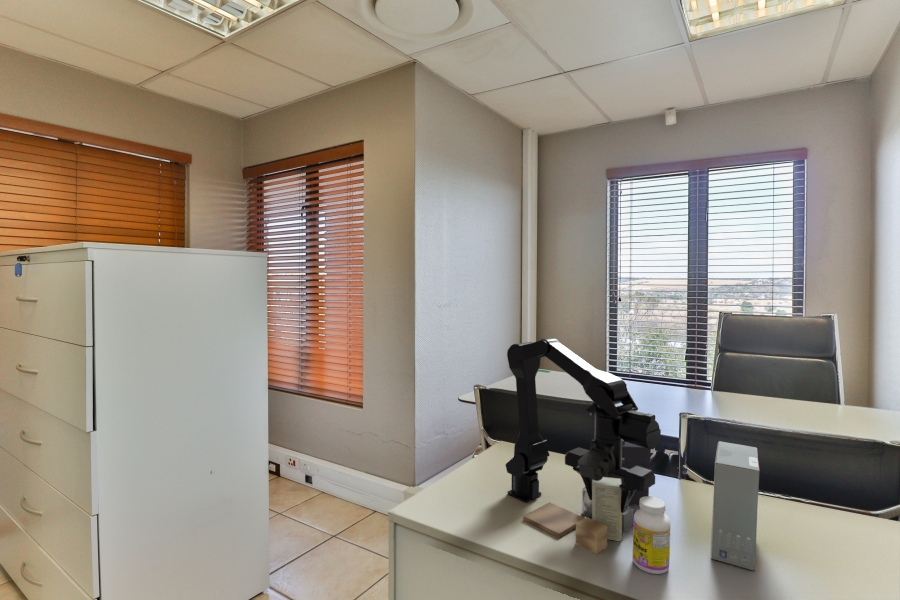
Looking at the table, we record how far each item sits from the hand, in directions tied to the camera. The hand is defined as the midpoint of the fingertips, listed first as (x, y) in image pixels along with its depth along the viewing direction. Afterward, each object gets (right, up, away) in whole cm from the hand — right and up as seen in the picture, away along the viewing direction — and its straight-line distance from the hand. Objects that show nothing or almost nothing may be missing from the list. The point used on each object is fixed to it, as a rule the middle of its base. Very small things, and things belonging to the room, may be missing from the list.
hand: (606, 505), depth 102 cm
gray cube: (+5, -7, +4) cm, 9 cm away
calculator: (+10, -6, +15) cm, 19 cm away
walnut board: (-10, -6, +6) cm, 13 cm away
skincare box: (0, -7, 0) cm, 7 cm away
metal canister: (-1, -6, +9) cm, 11 cm away
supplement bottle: (+5, -7, -11) cm, 14 cm away
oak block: (-5, -7, -4) cm, 9 cm away
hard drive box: (+25, -7, -4) cm, 26 cm away
